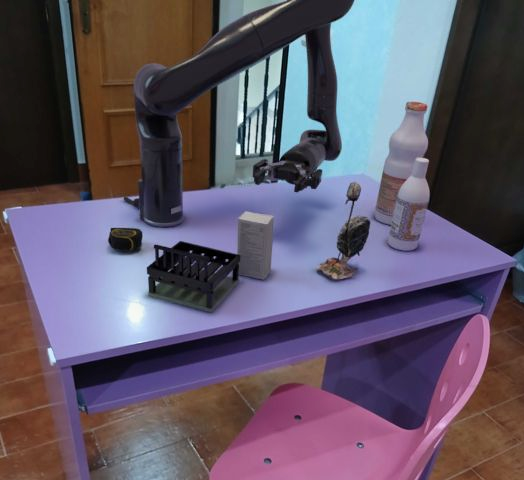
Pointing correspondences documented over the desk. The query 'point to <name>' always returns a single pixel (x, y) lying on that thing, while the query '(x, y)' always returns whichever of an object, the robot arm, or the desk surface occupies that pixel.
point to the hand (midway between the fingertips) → (276, 183)
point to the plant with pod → (348, 240)
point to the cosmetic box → (255, 244)
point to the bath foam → (410, 209)
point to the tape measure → (125, 239)
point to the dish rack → (192, 275)
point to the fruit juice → (401, 159)
